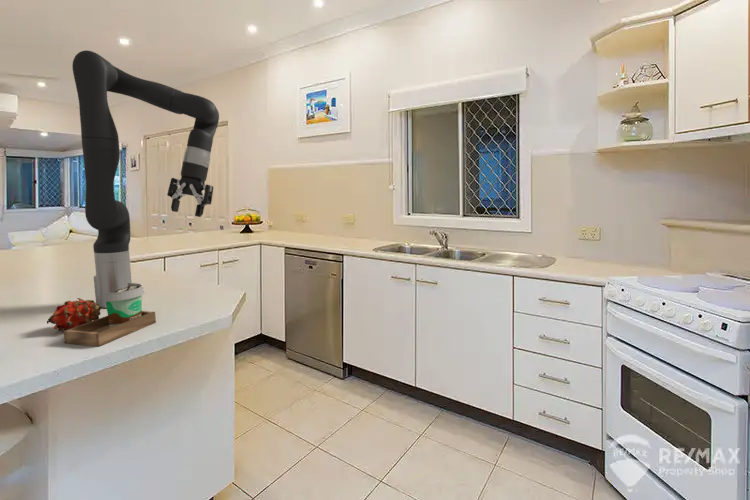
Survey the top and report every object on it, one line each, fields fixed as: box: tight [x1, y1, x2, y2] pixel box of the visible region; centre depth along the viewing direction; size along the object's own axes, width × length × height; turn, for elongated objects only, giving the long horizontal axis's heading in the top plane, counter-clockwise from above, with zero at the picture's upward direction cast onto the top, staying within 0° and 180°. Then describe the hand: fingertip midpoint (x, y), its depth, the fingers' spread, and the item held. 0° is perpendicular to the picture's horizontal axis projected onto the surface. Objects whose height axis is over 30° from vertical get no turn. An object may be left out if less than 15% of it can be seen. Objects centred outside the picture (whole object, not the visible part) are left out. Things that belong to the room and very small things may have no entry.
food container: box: [104, 282, 146, 328], centre depth 104 cm, size 12×6×10 cm, turn 6°
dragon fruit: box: [46, 297, 102, 332], centre depth 103 cm, size 8×8×12 cm
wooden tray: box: [62, 310, 157, 347], centre depth 101 cm, size 10×18×3 cm, turn 169°
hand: (186, 214), depth 125 cm, fingers open, 8 cm apart
